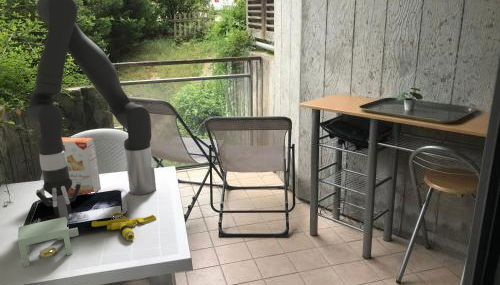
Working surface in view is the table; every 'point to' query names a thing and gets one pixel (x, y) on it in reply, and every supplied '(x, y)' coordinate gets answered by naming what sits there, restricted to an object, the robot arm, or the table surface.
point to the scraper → (64, 213)
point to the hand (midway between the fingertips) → (63, 214)
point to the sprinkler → (123, 224)
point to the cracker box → (82, 163)
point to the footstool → (42, 235)
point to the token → (47, 252)
